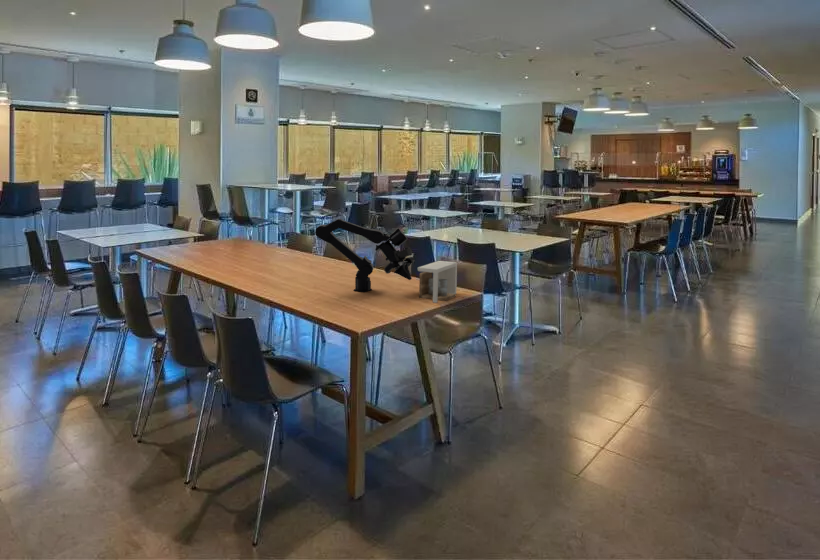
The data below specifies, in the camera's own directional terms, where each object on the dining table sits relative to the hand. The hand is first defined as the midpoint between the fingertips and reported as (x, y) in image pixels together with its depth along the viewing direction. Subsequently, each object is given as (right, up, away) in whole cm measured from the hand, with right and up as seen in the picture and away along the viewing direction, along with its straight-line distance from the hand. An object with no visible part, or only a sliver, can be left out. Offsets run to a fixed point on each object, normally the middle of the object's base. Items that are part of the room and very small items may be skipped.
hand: (410, 279), depth 273 cm
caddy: (+12, -8, -5) cm, 15 cm away
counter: (+12, -8, -5) cm, 15 cm away
